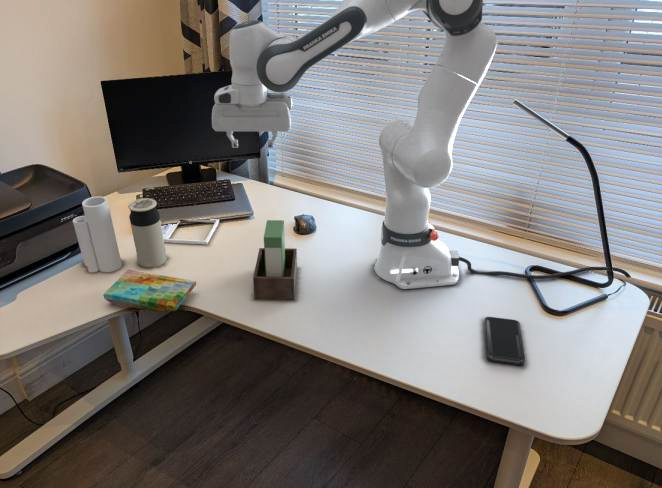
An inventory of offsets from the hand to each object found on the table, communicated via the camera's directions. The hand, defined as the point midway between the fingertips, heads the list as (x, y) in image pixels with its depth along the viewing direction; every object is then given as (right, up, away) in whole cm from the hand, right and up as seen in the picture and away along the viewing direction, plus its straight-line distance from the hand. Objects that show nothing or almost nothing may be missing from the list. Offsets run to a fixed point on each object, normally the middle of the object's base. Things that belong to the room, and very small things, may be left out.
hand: (253, 147), depth 145 cm
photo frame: (-23, -19, +28) cm, 41 cm away
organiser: (+6, -36, +3) cm, 36 cm away
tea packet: (+6, -29, -2) cm, 29 cm away
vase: (-44, -31, +12) cm, 55 cm away
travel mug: (-30, -29, +14) cm, 44 cm away
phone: (+58, -49, -19) cm, 79 cm away
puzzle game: (-26, -40, -2) cm, 48 cm away
